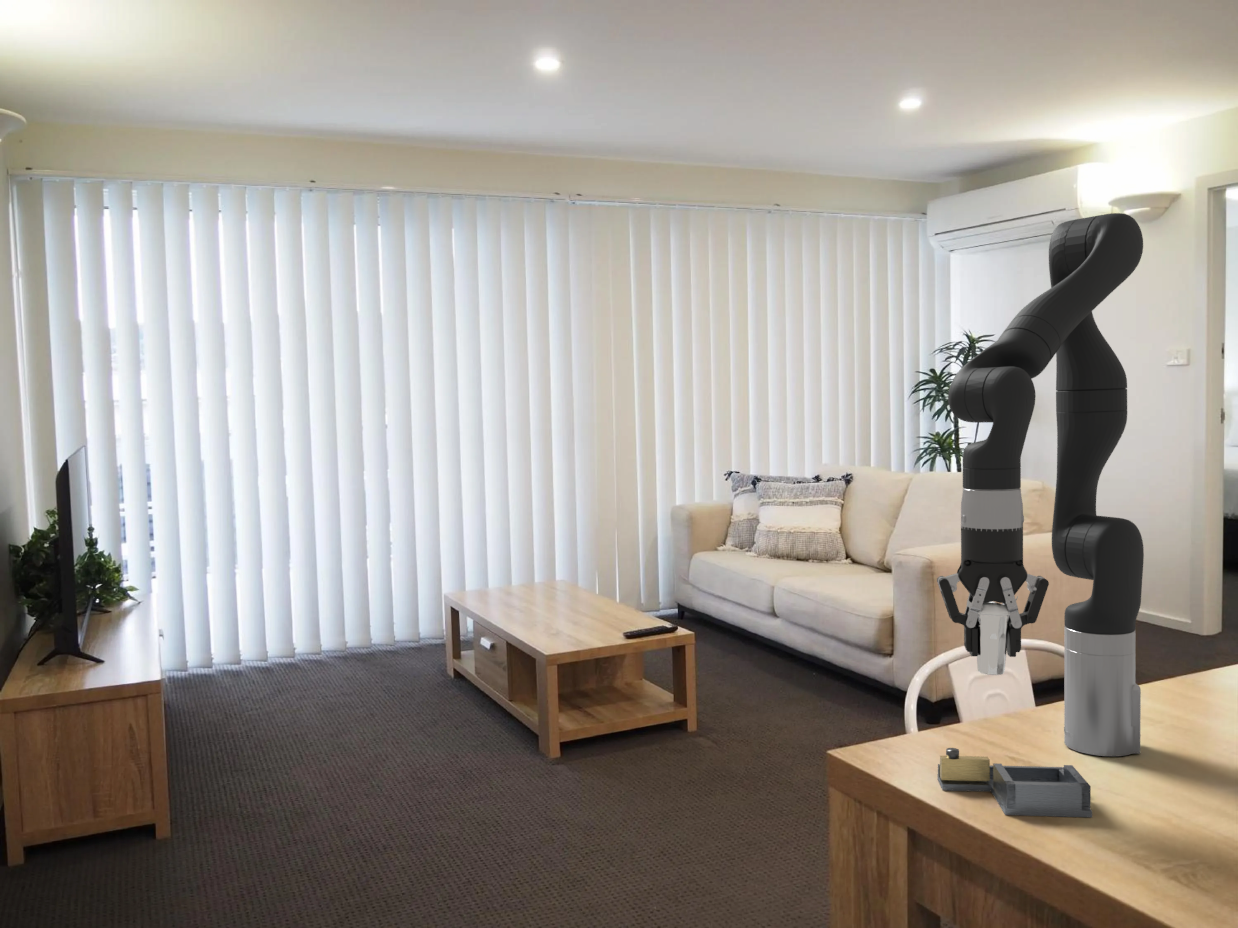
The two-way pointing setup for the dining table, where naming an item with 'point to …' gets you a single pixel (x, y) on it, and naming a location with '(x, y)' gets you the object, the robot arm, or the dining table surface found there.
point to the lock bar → (964, 767)
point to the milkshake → (992, 638)
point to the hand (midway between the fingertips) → (992, 654)
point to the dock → (1032, 790)
